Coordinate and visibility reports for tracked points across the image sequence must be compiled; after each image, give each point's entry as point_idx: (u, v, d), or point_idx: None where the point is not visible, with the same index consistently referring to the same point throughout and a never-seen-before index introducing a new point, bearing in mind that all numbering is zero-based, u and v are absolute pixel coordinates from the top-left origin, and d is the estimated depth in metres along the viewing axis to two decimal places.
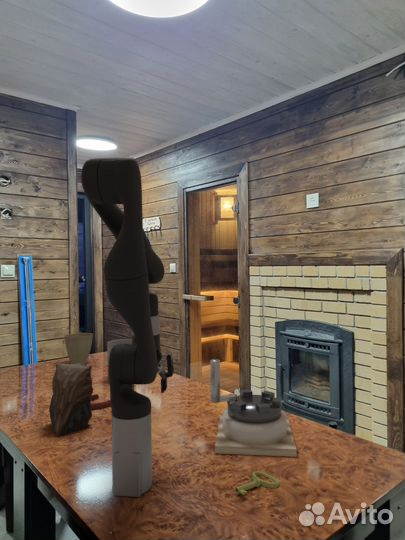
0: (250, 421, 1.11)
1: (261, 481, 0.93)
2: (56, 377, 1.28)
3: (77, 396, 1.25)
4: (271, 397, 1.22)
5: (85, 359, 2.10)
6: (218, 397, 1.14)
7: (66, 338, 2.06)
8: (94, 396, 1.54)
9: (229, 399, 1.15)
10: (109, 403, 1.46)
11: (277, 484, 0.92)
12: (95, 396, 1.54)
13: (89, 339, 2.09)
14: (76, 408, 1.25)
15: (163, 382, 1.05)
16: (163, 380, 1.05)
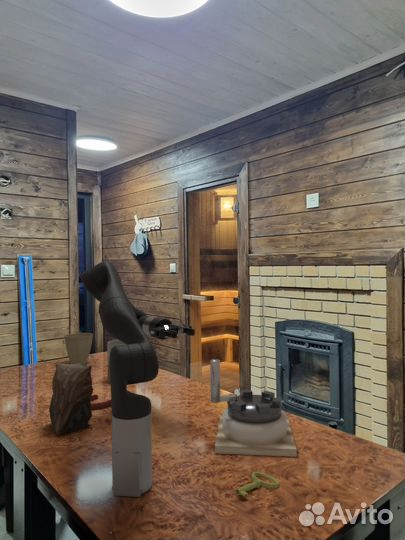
0: (250, 421, 1.11)
1: (261, 482, 0.92)
2: (56, 377, 1.28)
3: (77, 396, 1.25)
4: (271, 397, 1.22)
5: (85, 359, 2.10)
6: (218, 397, 1.14)
7: (66, 338, 2.06)
8: (94, 396, 1.54)
9: (229, 399, 1.15)
10: (109, 403, 1.46)
11: (277, 484, 0.92)
12: (94, 396, 1.54)
13: (89, 339, 2.09)
14: (76, 408, 1.25)
15: None
16: None
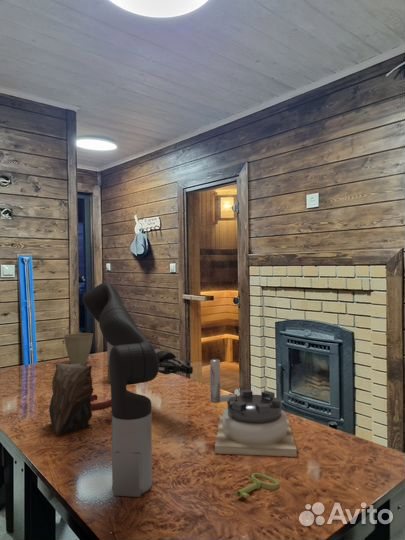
0: (250, 421, 1.11)
1: (261, 483, 0.92)
2: (56, 377, 1.28)
3: (77, 396, 1.25)
4: (271, 397, 1.22)
5: (85, 359, 2.10)
6: (218, 397, 1.14)
7: (66, 338, 2.06)
8: (93, 396, 1.53)
9: (229, 399, 1.15)
10: (108, 403, 1.46)
11: (277, 485, 0.91)
12: (94, 396, 1.54)
13: (89, 339, 2.09)
14: (76, 408, 1.25)
15: None
16: None
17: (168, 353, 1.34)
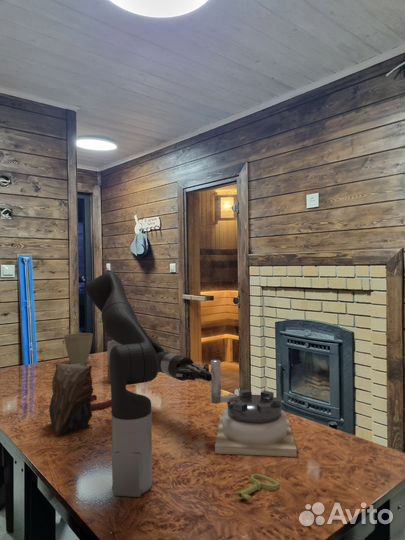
0: (251, 421, 1.10)
1: (261, 484, 0.91)
2: (56, 377, 1.28)
3: (77, 396, 1.25)
4: (270, 397, 1.22)
5: (85, 359, 2.10)
6: (219, 398, 1.14)
7: (66, 338, 2.06)
8: (92, 396, 1.53)
9: (230, 399, 1.15)
10: (108, 404, 1.46)
11: (277, 486, 0.91)
12: (93, 397, 1.53)
13: (89, 339, 2.09)
14: (76, 408, 1.25)
15: None
16: None
17: (185, 358, 1.26)
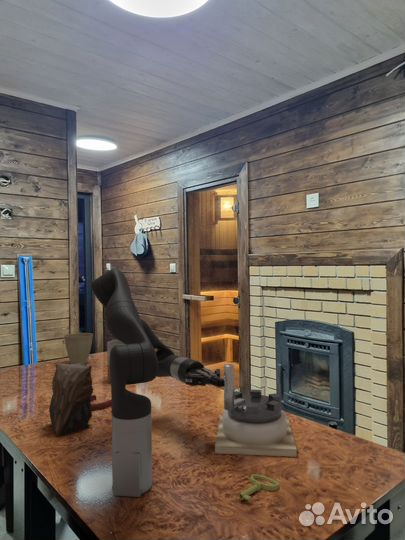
0: (267, 421, 1.11)
1: (261, 484, 0.91)
2: (56, 377, 1.28)
3: (77, 396, 1.25)
4: None
5: (85, 359, 2.10)
6: (233, 403, 1.09)
7: (66, 338, 2.06)
8: (92, 397, 1.53)
9: (240, 403, 1.12)
10: (107, 404, 1.45)
11: (277, 486, 0.91)
12: (93, 397, 1.53)
13: (89, 339, 2.09)
14: (76, 408, 1.25)
15: None
16: None
17: (195, 362, 1.20)
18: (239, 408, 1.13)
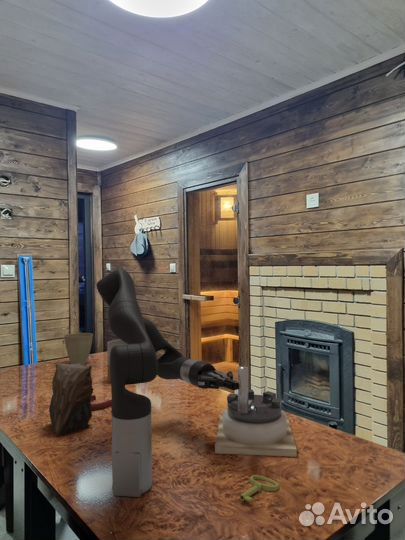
0: (275, 419, 1.12)
1: (262, 485, 0.91)
2: (56, 377, 1.28)
3: (77, 396, 1.25)
4: None
5: (85, 359, 2.10)
6: None
7: (66, 338, 2.06)
8: (91, 397, 1.53)
9: (250, 405, 1.10)
10: (107, 404, 1.45)
11: (278, 486, 0.91)
12: (92, 397, 1.53)
13: (89, 339, 2.09)
14: (76, 408, 1.25)
15: None
16: None
17: (207, 364, 1.17)
18: None
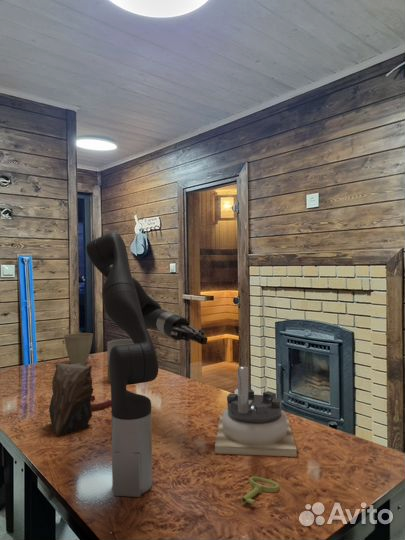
0: (275, 419, 1.12)
1: (262, 486, 0.90)
2: (56, 377, 1.28)
3: (76, 396, 1.25)
4: None
5: (85, 359, 2.10)
6: None
7: (66, 338, 2.06)
8: None
9: (250, 405, 1.10)
10: (106, 404, 1.45)
11: (278, 487, 0.90)
12: (91, 397, 1.52)
13: (89, 339, 2.09)
14: (76, 408, 1.25)
15: None
16: None
17: (182, 319, 1.26)
18: None
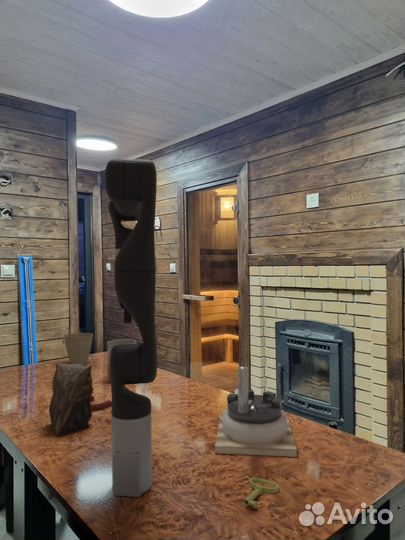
0: (275, 419, 1.12)
1: (263, 488, 0.90)
2: (56, 377, 1.28)
3: (77, 396, 1.25)
4: None
5: (85, 359, 2.10)
6: None
7: (66, 338, 2.06)
8: None
9: (250, 405, 1.10)
10: (105, 405, 1.44)
11: (278, 488, 0.90)
12: None
13: (89, 339, 2.09)
14: (76, 408, 1.25)
15: None
16: None
17: None
18: None
